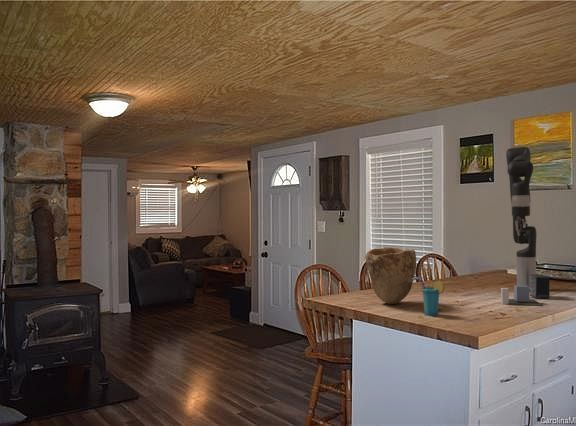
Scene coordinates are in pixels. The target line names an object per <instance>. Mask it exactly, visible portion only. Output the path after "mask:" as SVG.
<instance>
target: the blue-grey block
mask: <svg viewBox="0 0 576 426" xmlns="http://www.w3.org/2000/svg"><path fill="white" fill-rule="evenodd" d="M513 299H514V300H516V301H519V302H529V299H530V290H529V287H528V286H527V285H517V284H515V285H513Z"/></svg>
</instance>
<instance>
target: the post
mask: <svg viewBox="0 0 576 426" xmlns="http://www.w3.org/2000/svg"><path fill="white" fill-rule="evenodd" d="M509 294H510V292H509V288H508V287H500V302H501V303H500V304H501V305H508V304H509V299H510V298H509V297H510V295H509ZM508 306H509V305H508Z"/></svg>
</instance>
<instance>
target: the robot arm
mask: <svg viewBox="0 0 576 426" xmlns="http://www.w3.org/2000/svg"><path fill="white" fill-rule="evenodd" d="M505 156H506V164H507V174H508V178H509V190H510V191H509V192H510V195H509V197H510V204H511V217H512V237H513V241H514V244H518V245H519V244H520V245H525V244H526V245H528V246H527V247H525V248H523V249H520V250H517V251H516V285H527V286H528V287H529V291H530V274H534V275H537V229H536V227H535V226H532V225H531V226H529V225H528V223H527V222H528V221H527V219H526V217H530V216H531V204H530V203H531V192H530V191H531V190H530V183H531V179H532V175H533V173H534V164H533V163H532V162H531V151H530V149H529V147H527V146H518V147H512V148H507V150H506V153H505ZM522 178H524V179H523V180H522Z"/></svg>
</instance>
